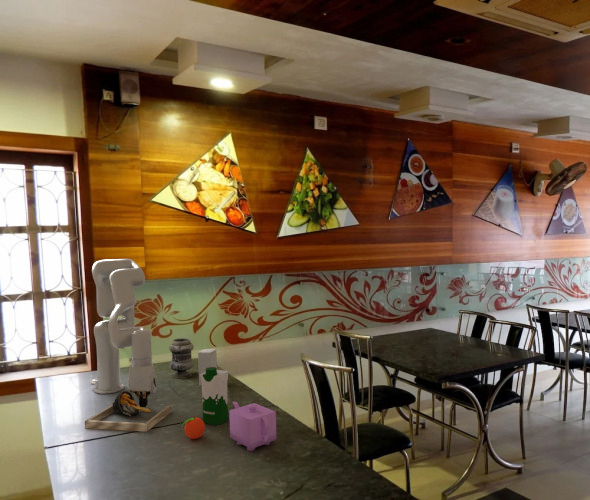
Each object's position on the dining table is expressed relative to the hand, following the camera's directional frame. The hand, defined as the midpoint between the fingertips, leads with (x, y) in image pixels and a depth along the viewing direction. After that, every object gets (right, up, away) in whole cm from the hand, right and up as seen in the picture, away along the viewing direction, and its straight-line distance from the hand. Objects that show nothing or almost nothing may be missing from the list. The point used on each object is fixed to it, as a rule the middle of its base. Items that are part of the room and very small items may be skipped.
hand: (143, 407), depth 190 cm
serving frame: (-2, -1, -10) cm, 10 cm away
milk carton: (+31, -1, -13) cm, 34 cm away
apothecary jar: (+4, 0, +47) cm, 47 cm away
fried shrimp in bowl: (-3, -2, -5) cm, 6 cm away
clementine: (+26, -2, -28) cm, 39 cm away
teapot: (+46, -1, -32) cm, 56 cm away
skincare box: (+20, 0, +33) cm, 38 cm away
